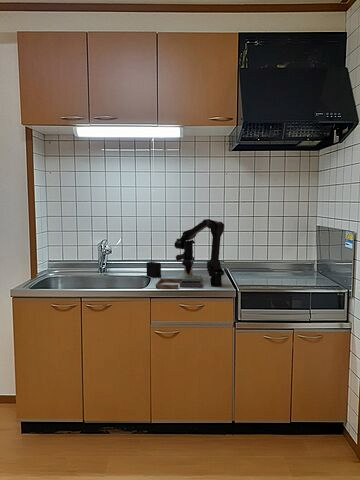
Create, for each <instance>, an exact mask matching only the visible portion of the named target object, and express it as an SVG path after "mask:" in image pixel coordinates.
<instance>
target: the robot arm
mask: <svg viewBox="0 0 360 480" xmlns="http://www.w3.org/2000/svg"><path fill="white" fill-rule="evenodd" d="M206 228H207V229H210V233H211V235H212V239H211V240H212V241H211V252H210V259H209V260H207V262H206V270H207V273H208V275H209V277H210V283H209V284H210V286H211V287H222V286H223V281H222V280H223V279H222V277H223V276H224V274H225V271H224V270H223V268H222V266H221V264H222V263H221V262H220V259H219V258H220V250H221V249H220V248H221V247H220V246H221V236H222V234H223V233H224V230H225V224H224V223H223V222H222V221H217V220H212V219H210V218H207V219H203V220H202V221H201V222H199V223H198V224H197V225H195V226H194V227H192V228H190V229H187V230H185V231H182V235H181V236H180V238H176V241H174V243H173V244H174V248H175V249H177V250H178V249H179V250H183V252H182V253H181V254H180V253H179V254H176V255H175V260H176V262H178V261H181V260H182V261H181V264H182V266H184V268H185V267H186V271H187V274H189V273H190V270H191V267H193V265H194V262H195V256H194V246H193V245H194V244H196V242H195V241H194V239H195V238H196V237H197V235H198V234H199V233H200V232H201V231H203V230H204V229H206Z"/></svg>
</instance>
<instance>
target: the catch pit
mask: <svg viewBox="0 0 360 480" xmlns="http://www.w3.org/2000/svg"><path fill="white" fill-rule="evenodd" d="M202 287H203V280H201V281H185V280H181V282H180V283H179V288H187V289H188V288H191V289H192V288H193V289H195V288H196V289H197V288H198V289H202Z"/></svg>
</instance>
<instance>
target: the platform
mask: <svg viewBox="0 0 360 480" xmlns="http://www.w3.org/2000/svg"><path fill="white" fill-rule="evenodd" d="M175 279H182V280H185V281H202V275H197V274H195V275H194V274H193V275H192V276H184V274H177V275H176V277H175Z"/></svg>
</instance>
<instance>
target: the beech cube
mask: <svg viewBox="0 0 360 480" xmlns="http://www.w3.org/2000/svg"><path fill="white" fill-rule="evenodd" d="M193 269H194V268H193V266H192V267H191V270H190V273H189V274H187V271H186V267H185V266H184V268H183V272H184V273H183V275H184V276H192V275H194V272H193Z"/></svg>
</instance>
